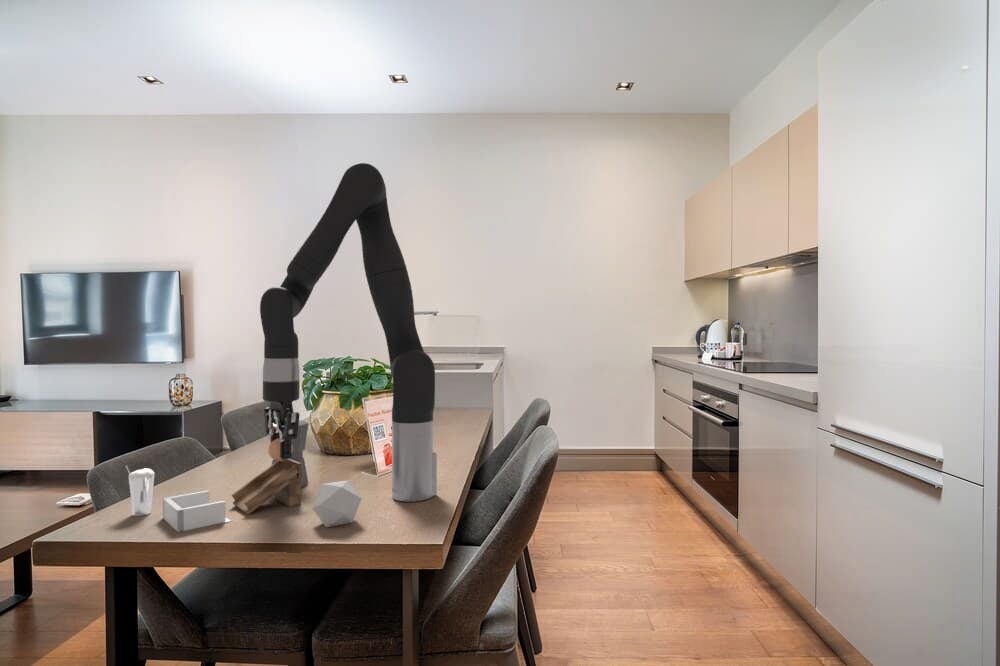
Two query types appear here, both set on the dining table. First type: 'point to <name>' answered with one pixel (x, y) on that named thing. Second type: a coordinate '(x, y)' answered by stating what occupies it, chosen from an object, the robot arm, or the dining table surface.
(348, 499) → the die
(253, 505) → the ramp
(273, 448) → the ball
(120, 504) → the dining table surface
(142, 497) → the milkshake
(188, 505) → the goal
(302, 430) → the coffeepot
